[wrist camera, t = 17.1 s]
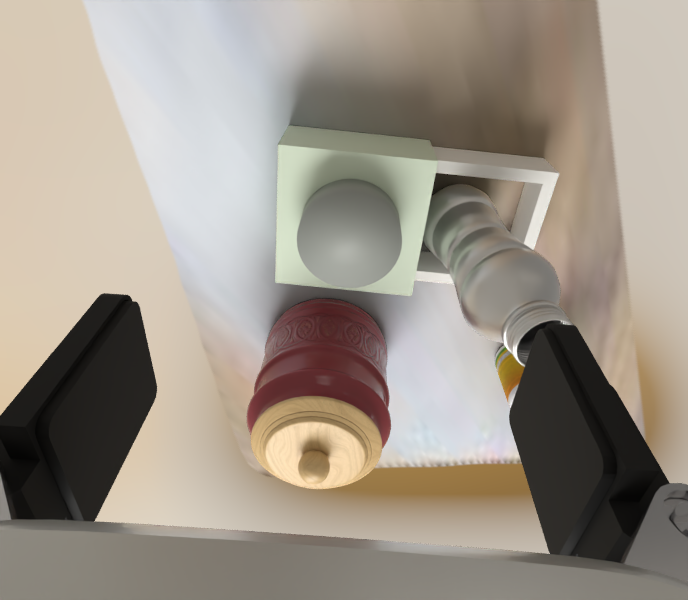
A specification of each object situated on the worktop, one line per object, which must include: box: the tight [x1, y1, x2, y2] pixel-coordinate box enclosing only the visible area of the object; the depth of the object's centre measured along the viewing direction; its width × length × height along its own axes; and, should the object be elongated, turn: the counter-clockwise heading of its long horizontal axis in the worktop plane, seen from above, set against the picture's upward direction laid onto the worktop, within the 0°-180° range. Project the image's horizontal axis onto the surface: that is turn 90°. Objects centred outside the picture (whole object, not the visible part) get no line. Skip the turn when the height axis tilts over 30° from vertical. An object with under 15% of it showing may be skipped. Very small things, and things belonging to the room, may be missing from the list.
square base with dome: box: [275, 125, 559, 296], centre depth 41 cm, size 12×22×9 cm, turn 85°
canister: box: [247, 299, 391, 489], centre depth 47 cm, size 13×13×18 cm
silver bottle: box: [423, 184, 573, 367], centre depth 37 cm, size 6×7×20 cm
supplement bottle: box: [495, 345, 525, 409], centre depth 50 cm, size 5×5×10 cm
